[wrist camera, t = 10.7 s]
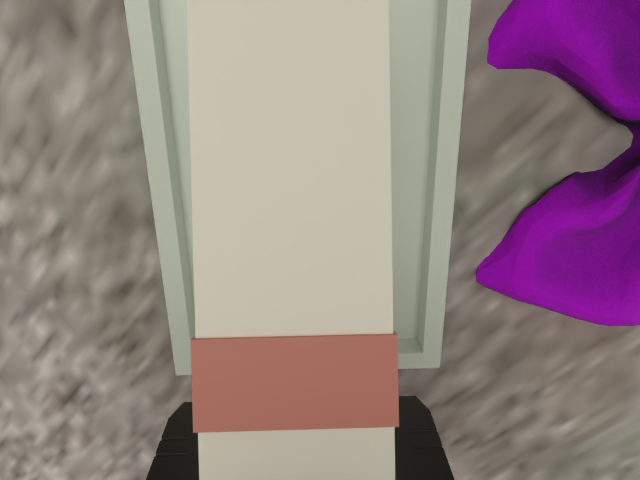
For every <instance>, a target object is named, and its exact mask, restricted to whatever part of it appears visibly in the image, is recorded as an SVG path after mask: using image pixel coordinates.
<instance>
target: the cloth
mask: <svg viewBox="0 0 640 480" xmlns="http://www.w3.org/2000/svg"><path fill="white" fill-rule="evenodd" d="M487 62H488V64H490V65H492V66H494V67H495V68H497V69H536V70H541V71H546V72H548V73H551V74H553V75H555V76H557V77H559V78H561V79H563V80H565V81H566V82H567V83H569V84H570V85H571V86H572V87H574V88H575V89H576V90H577V91H579V92H580V93H581V94H582V95H583V96H585V97H586V98H587V99H588V100H589V101H590V102H592V103H593V104H594V105H595V106H596V107H598V108H599V109H601V110H602V111H604V112H605V113H607V114H609V115H611V116H612V117H613V118H614V119H615V120H616V121H617V122H618V123H621V124H623V125H625V126H627V127H628V129H629V130H630V131H631V132H632V134H633V140H632V144H631V147H630V148H629V149H627V150H626V151H625V152H624V153H622V154H621V155H620V156H618V157H617V158H616V159H615V160H613V161H612V162H611V163H609V164H608V165H607V166H606V167H604V168H603V169H600V170H596V171H591V172H584V173H580V172H575V173H573V174H571V175H568V176H567V177H565V178H564V179H563V181H561V182H560V183H559V184H557V185H556V186H555V187H553V188H552V189H551V190H549V191H548V192H547V193H546V194H545V195H544V196H543V197H542V198H541V199H540V200H539V201H538V202H536V203H535V204H533V205H531V206H530V207H528V208H527V209H525V210H524V211H523V212H522V213H521V214H520V216H519V217H518V218H517V220H516V221H515V222H514V224H513V225H512V227H511V228H510V230H509V231H508V233H507V234H506V236H505V237H504V239H503V240H502V242H501V243H500V244H499V245H498V246H497V247H496V248H495V249H494V250H493V252H492V253H491V254H490V255H489V256H488V257H486V258H485V259H484V260H483V261H482V262H481V264H480V265H479V267H478V268H477V273H476V282H478V283H480V284H482V285H484V286H485V287H487V288H489V289H492V290H494V291H497V292H499V293H501V294H504V295H506V296H509V297H511V298H513V299H516V300H518V301H522V302H525V303H529V304H532V305H536V306H539V307H543V308H546V309H549V310H552V311H555V312H558V313H561V314H564V315H567V316H570V317H573V318H576V319H580V320H584V321H588V322H592V323H596V324H600V325H607V326H634V325H640V0H513V1H512V2H511V4H510V5H509V6H508V8H507V9H506V10H505V11H504V13H503V14H502V15H501V16H500V18H499V19H498V20H497V22H496V25H495V27H494V29H493V31H492V33H491V35H490V37H489V49H488V56H487Z"/></svg>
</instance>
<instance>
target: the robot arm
mask: <svg viewBox="0 0 640 480" xmlns="http://www.w3.org/2000/svg"><path fill="white" fill-rule="evenodd" d="M146 480H199V453H198V433H193V412H192V402H184V403H183V404H182V405H181V406H180V407H179V408H178V409H177V410H176V411H175V412H174V413H173V414H172V416H171V417H170V418H169V419H168V422H167V424H166V427H165V430H164V432H163V435H162V441H160V443H159V446H158V449H157V451H156V457H154V459H153V462H152V465H151V467H150V470H149V473H148V476H147V478H146ZM395 480H454V477H453V474H452V472H451V469H450V466H449V463H448V460H447V457H446V455H445V452H444V449H443V448H442V443H441V440H440V438H439V435H438V433H437V431H436V426H435V424H434V421H433V418H432V415H431V412H430V411H429V409H428V408H427V407H426V406H425V405H424V404H423V403H422V402H421V401H420V400H419V399H418V398H417V397H416V396H399V427H395Z"/></svg>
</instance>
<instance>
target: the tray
mask: <svg viewBox="0 0 640 480" xmlns="http://www.w3.org/2000/svg"><path fill="white" fill-rule="evenodd" d="M124 4H125V11H126V18H127V25H128V33H129V40H130V47H131V54H132V61H133V69H134V76H135V83H136V90H137V98H138V105H139V112H140V119H141V126H142V134H143V141H144V148H145V155H146V163H147V170H148V177H149V184H150V191H151V199H152V206H153V213H154V220H155V227H156V235H157V242H158V249H159V256H160V264H161V271H162V278H163V285H164V292H165V300H166V307H167V314H168V321H169V329H170V336H171V343H172V350H173V357H174V365H175V372H176V375H191V339H192V338H193V337H194V336H195V303H194V265H193V228H192V190H191V153H190V115H189V78H188V41H187V3H186V0H124ZM470 10H471V0H389V48H390V123H391V198H392V273H393V330H394V331H395V332H396V334H397V335H398V369H420V368H440V361H441V349H442V337H443V326H444V314H445V302H446V290H447V279H448V267H449V255H450V244H451V232H452V220H453V209H454V197H455V185H456V173H457V162H458V150H459V138H460V127H461V115H462V103H463V91H464V80H465V68H466V56H467V45H468V33H469V21H470Z"/></svg>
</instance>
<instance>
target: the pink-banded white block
mask: <svg viewBox="0 0 640 480" xmlns="http://www.w3.org/2000/svg"><path fill="white" fill-rule="evenodd" d="M186 3H187V41H188V78H189V115H190V153H191V190H192V228H193V265H194V303H195V336H194V337H193V338H192V339H191V375H192V412H193V433H198V453H199V480H395V427H399V391H398V335H397V334H396V332H395V331H394V330H393V273H392V198H391V123H390V48H389V0H186Z"/></svg>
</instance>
